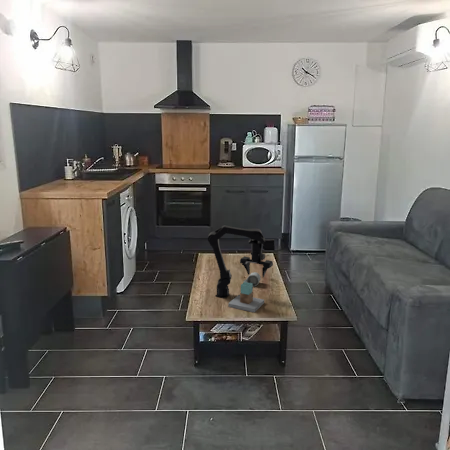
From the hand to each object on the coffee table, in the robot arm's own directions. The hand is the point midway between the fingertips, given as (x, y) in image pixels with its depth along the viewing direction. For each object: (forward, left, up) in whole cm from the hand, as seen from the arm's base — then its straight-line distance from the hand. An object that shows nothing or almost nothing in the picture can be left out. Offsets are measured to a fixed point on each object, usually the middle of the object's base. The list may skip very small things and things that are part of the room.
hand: (256, 275), depth 258 cm
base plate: (0, -13, -13) cm, 18 cm away
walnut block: (0, -13, -11) cm, 17 cm away
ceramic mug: (-10, +16, -13) cm, 23 cm away
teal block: (0, -13, -6) cm, 14 cm away
